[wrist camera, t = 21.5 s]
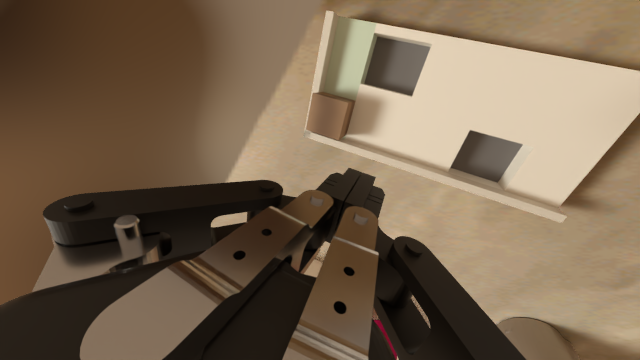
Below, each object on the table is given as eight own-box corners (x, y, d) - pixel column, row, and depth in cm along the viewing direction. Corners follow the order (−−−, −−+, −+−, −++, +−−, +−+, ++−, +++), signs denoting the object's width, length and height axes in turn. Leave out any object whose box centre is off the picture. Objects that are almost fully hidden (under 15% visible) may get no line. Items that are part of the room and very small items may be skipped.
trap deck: (642, 77, 23) (693, 76, 19) (541, 203, 31) (561, 223, 26) (338, 20, 32) (326, 10, 27) (315, 130, 39) (303, 136, 35)
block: (355, 100, 32) (348, 102, 28) (346, 134, 34) (338, 140, 31) (323, 91, 33) (312, 92, 30) (316, 125, 35) (305, 129, 32)
